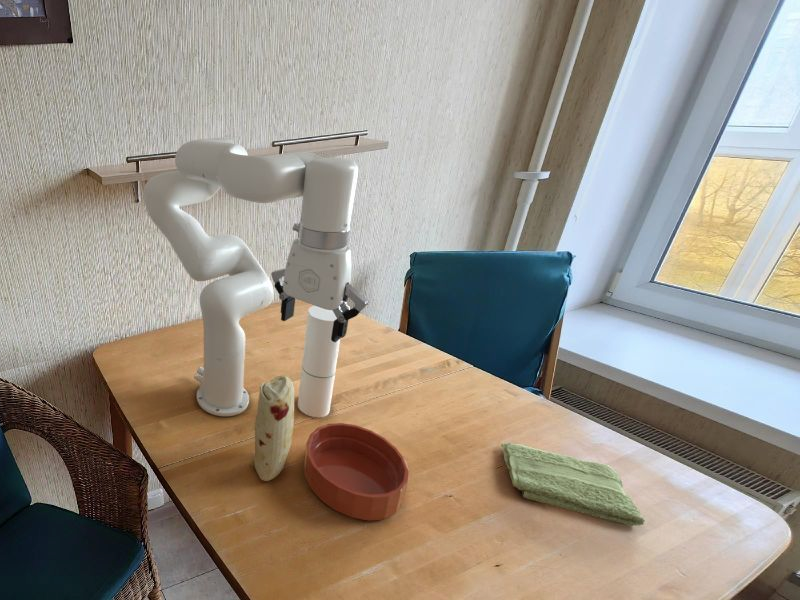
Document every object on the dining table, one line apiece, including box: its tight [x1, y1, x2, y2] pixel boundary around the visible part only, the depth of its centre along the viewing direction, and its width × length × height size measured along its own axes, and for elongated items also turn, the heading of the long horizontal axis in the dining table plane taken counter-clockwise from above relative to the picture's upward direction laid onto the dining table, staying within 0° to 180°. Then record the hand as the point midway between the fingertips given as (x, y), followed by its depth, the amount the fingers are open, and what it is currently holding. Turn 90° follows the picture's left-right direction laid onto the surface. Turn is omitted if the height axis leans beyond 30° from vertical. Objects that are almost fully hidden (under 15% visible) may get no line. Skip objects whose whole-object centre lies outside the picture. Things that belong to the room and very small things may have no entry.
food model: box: [253, 375, 295, 482], centre depth 81 cm, size 10×7×20 cm
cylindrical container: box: [297, 305, 341, 418], centre depth 96 cm, size 7×7×25 cm
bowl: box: [303, 422, 410, 521], centre depth 80 cm, size 17×17×6 cm
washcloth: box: [501, 442, 646, 527], centre depth 78 cm, size 13×18×3 cm
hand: (311, 328), depth 75 cm, fingers open, 9 cm apart
